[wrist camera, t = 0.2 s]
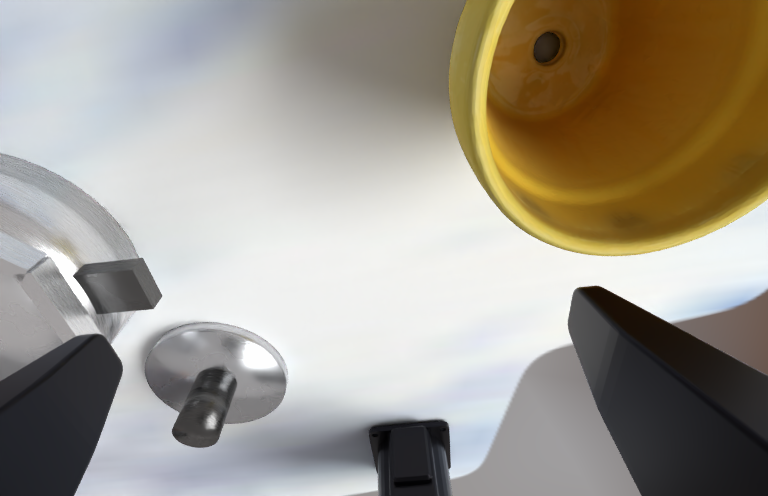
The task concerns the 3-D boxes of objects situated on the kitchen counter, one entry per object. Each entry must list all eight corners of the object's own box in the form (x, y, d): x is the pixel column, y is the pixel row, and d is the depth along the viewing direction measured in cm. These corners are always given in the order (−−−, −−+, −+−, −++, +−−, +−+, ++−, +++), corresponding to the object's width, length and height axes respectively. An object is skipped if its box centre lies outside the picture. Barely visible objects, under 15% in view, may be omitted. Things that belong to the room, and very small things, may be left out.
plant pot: (664, -153, 15) (1035, -342, 6) (655, 118, 20) (853, 205, 12) (395, -44, 16) (417, -83, 8) (453, 181, 22) (502, 297, 13)
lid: (301, 404, 32) (289, 470, 27) (182, 414, 32) (152, 481, 28) (269, 312, 27) (249, 375, 22) (129, 326, 27) (82, 391, 23)
